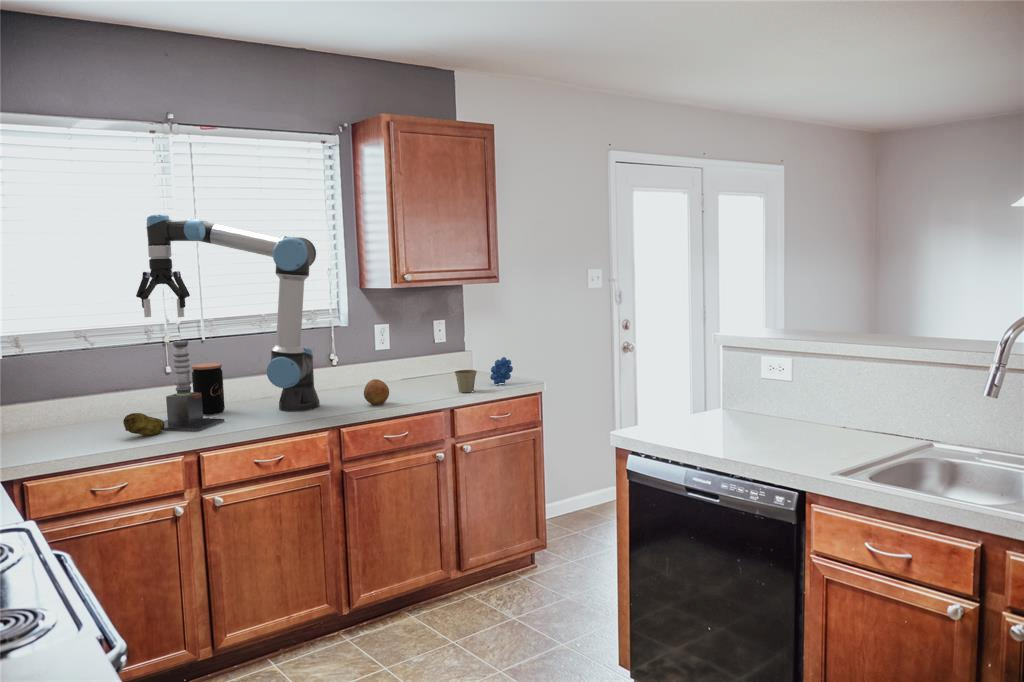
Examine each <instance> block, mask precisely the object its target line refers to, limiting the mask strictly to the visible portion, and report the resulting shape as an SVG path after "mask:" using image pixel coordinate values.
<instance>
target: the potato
mask: <svg viewBox="0 0 1024 682" xmlns="http://www.w3.org/2000/svg"><path fill="white" fill-rule="evenodd" d="M163 421H164V420H162V419H160V418H156V417H152V416H148V415H146V414H144V413H141V412H131V413H130V414H129V413H128V414H126V416H125V417H124V418H123V421H122V422H123V427H124V428H125V431H126V432H129V433H131V434H136V435H141V436H147V437H149V436H155V435H157V434H160V433H161V432H164V430H163V429H164V422H163Z"/></svg>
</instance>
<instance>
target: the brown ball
mask: <svg viewBox="0 0 1024 682" xmlns="http://www.w3.org/2000/svg"><path fill="white" fill-rule="evenodd" d="M363 389H364V390H363V397H364V399H365V401H366V402H367V403H369V404H371V405H373V406H376V405H377V406H378V405H383V404H384V403H385V402H387V400H388V398H389V396H390V389H389V386H388V385H387V384H386V382H384V381H383V380H380V379H376V378H374V379H371V380H369V381H368V382H367V383H366V385H365V387H364V388H363Z"/></svg>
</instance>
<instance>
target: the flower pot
mask: <svg viewBox="0 0 1024 682" xmlns="http://www.w3.org/2000/svg"><path fill="white" fill-rule="evenodd" d="M453 373H454V375H455V377H456V381H457V388H458V393H460V392H467V393H468V392H471V393H473V392H472V391H474V392H475V382H476V381H475V380H476V376H477V373H478V370H474V369H460V370H455V371H454V372H453Z"/></svg>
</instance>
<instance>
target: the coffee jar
mask: <svg viewBox="0 0 1024 682" xmlns="http://www.w3.org/2000/svg"><path fill="white" fill-rule="evenodd" d="M222 367H223V365H222V363H219V362H209V363H208V362H206V363H198V364H197V363H196V364H193V365H191V369H192V372H191V379H192V380H191V383H192V392H199V393H202V408H203V416H211V415H217V414H218V415H219V414H221V413H223V412H224V410H225V394H224V377H223V376H224V375H223V369H222Z"/></svg>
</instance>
